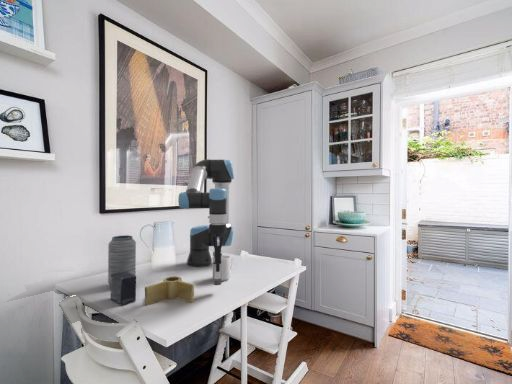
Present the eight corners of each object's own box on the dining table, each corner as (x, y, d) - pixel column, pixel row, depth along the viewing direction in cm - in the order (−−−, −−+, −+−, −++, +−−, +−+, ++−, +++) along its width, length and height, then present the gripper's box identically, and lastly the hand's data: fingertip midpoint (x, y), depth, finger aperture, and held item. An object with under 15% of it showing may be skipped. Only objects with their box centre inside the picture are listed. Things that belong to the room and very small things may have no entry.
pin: (212, 282, 120) (212, 251, 120) (221, 282, 121) (221, 250, 121) (212, 285, 116) (213, 253, 116) (222, 285, 117) (222, 253, 117)
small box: (137, 301, 109) (137, 275, 109) (120, 306, 104) (120, 279, 104) (126, 294, 116) (126, 270, 116) (109, 299, 111) (110, 273, 111)
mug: (220, 283, 132) (220, 260, 132) (208, 279, 138) (209, 257, 138) (237, 277, 141) (237, 256, 141) (226, 273, 147) (226, 253, 147)
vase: (105, 284, 128) (106, 236, 128) (131, 279, 136) (131, 234, 136) (111, 291, 119) (111, 239, 120) (138, 285, 127) (139, 237, 127)
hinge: (151, 293, 117) (151, 277, 117) (195, 291, 121) (195, 275, 121) (144, 305, 105) (144, 287, 105) (193, 302, 108) (193, 285, 108)
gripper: (208, 221, 125) (208, 271, 126) (209, 226, 109) (208, 284, 110) (225, 221, 127) (224, 270, 127) (227, 226, 111) (227, 283, 111)
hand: (217, 276), depth 118 cm, fingers closed on pin, 3 cm apart
